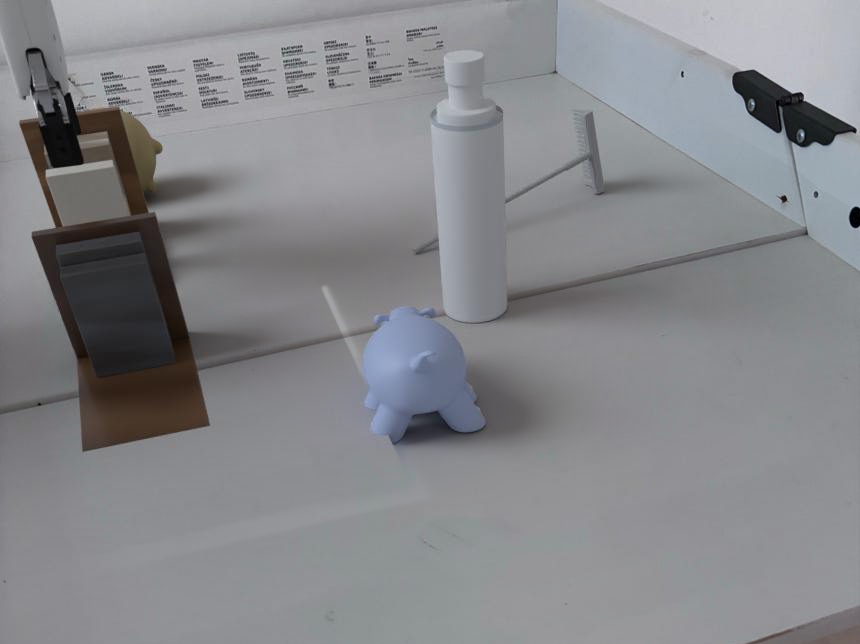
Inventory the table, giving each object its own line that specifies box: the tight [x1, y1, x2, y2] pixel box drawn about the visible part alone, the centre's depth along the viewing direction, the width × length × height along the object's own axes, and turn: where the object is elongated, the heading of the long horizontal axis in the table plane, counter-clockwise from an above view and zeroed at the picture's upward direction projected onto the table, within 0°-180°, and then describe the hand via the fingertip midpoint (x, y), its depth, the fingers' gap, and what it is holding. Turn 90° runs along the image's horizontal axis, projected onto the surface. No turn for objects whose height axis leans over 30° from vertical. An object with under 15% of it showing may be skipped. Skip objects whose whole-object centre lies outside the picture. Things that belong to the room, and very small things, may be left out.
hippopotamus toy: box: [362, 305, 487, 445], centre depth 85 cm, size 11×15×10 cm
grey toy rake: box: [411, 107, 606, 255], centre depth 115 cm, size 4×28×9 cm, turn 124°
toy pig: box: [91, 106, 164, 194], centre depth 123 cm, size 10×12×11 cm
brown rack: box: [31, 211, 211, 453], centre depth 87 cm, size 18×11×13 cm, turn 18°
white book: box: [46, 160, 129, 227], centre depth 107 cm, size 2×7×10 cm, turn 108°
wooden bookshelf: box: [18, 106, 150, 228], centre depth 109 cm, size 18×11×13 cm, turn 18°
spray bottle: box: [429, 49, 508, 324], centre depth 93 cm, size 7×7×25 cm
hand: (67, 150), depth 102 cm, fingers open, 9 cm apart
